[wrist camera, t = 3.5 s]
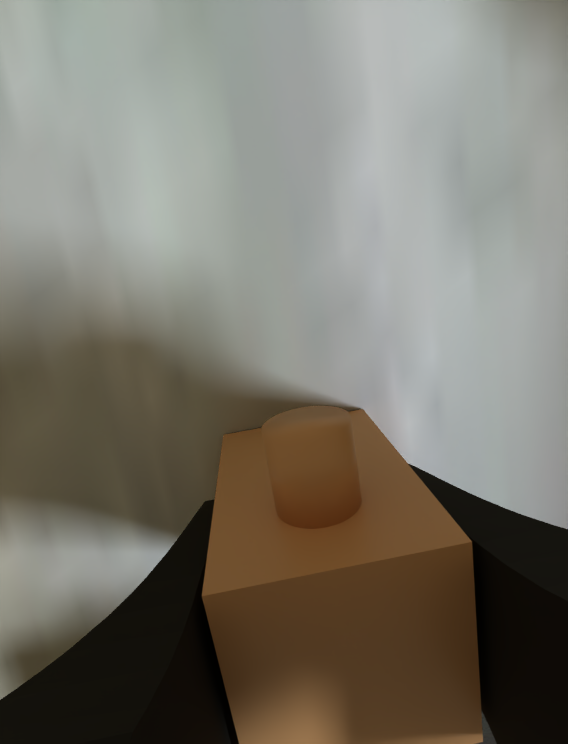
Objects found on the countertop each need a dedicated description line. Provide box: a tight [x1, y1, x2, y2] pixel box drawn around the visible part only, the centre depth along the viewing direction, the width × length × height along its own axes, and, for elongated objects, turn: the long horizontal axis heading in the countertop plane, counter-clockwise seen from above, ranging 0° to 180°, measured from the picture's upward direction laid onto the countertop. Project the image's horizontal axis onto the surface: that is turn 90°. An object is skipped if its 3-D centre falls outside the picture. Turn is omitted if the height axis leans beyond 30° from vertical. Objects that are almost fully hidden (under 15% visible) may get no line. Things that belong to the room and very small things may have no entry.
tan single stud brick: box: [202, 406, 483, 744], centre depth 9 cm, size 4×6×6 cm
